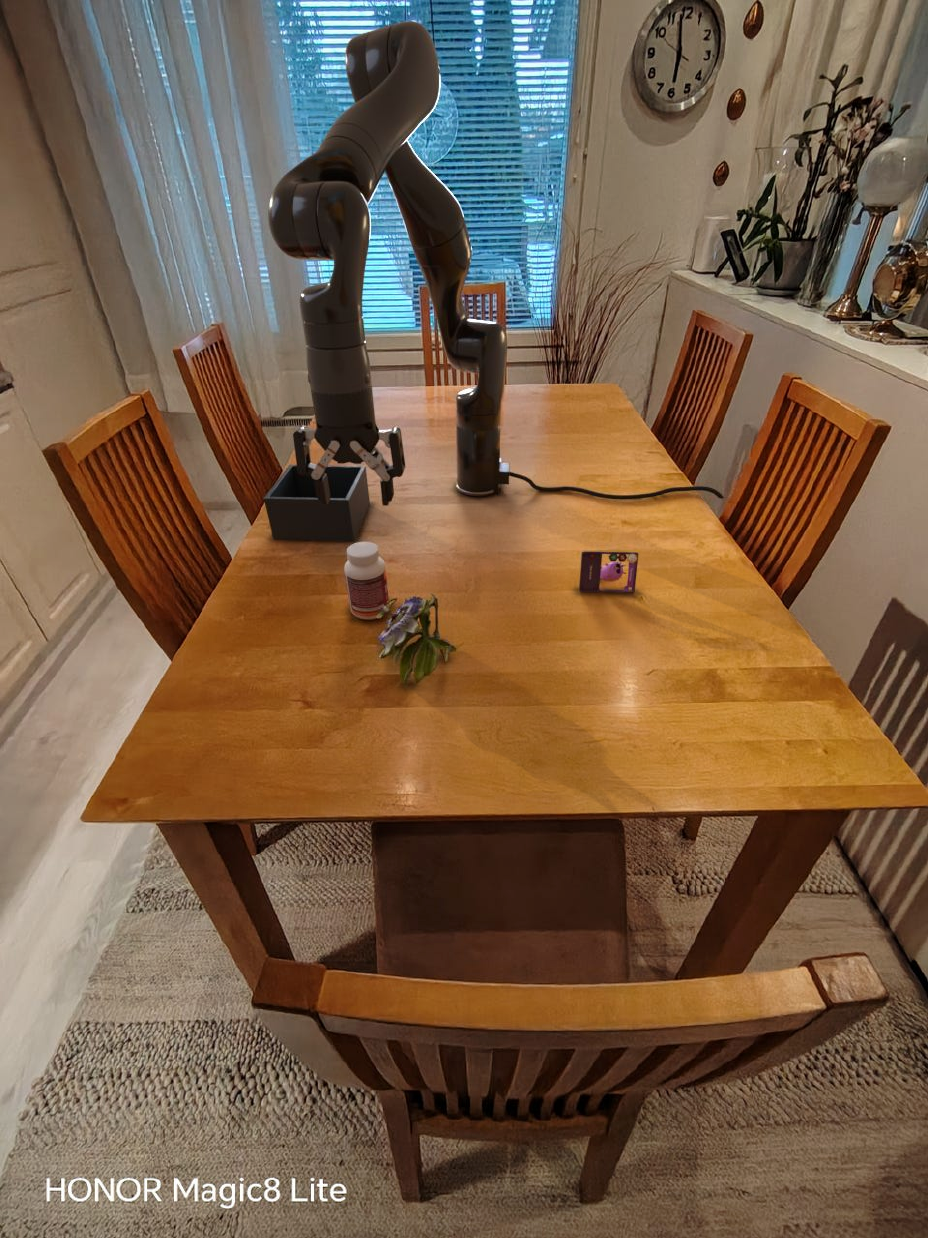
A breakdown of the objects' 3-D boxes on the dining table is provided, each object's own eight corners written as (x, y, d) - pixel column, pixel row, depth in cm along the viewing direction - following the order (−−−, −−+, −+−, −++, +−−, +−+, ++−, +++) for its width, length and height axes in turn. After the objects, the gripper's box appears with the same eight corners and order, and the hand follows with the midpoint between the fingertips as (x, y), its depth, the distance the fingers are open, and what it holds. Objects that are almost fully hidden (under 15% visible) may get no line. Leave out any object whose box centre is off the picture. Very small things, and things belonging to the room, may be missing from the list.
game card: (582, 552, 94) (639, 553, 94) (578, 546, 99) (632, 547, 99) (579, 593, 96) (635, 594, 96) (575, 585, 101) (628, 586, 101)
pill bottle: (396, 612, 93) (391, 552, 86) (361, 626, 90) (352, 564, 83) (378, 594, 97) (372, 535, 90) (344, 606, 94) (334, 546, 88)
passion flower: (395, 679, 88) (384, 600, 88) (466, 670, 87) (455, 589, 87) (373, 691, 77) (360, 601, 77) (453, 682, 76) (441, 589, 75)
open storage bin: (370, 504, 123) (365, 465, 118) (354, 541, 111) (348, 500, 106) (297, 502, 124) (289, 464, 119) (273, 539, 112) (263, 498, 107)
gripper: (402, 374, 75) (410, 492, 85) (293, 373, 76) (313, 490, 86) (393, 391, 69) (402, 516, 79) (274, 390, 70) (298, 513, 80)
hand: (356, 502), depth 82 cm, fingers open, 8 cm apart
